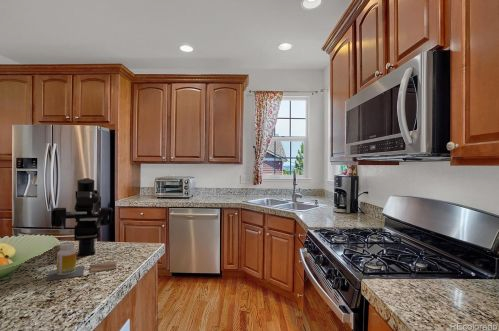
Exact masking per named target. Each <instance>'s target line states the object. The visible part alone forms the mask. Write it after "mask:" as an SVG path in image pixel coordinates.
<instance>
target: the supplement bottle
mask: <svg viewBox="0 0 499 331" xmlns="http://www.w3.org/2000/svg"><path fill="white" fill-rule="evenodd" d="M59 249H60V250H59V251H57V253H56V269H57V274H58V275H68V274H72V273H74V272H75V271H76V267H77V250H76V249H75V242H71V241H69V242H62V243H59Z"/></svg>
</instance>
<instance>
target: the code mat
mask: <svg viewBox="0 0 499 331" xmlns="http://www.w3.org/2000/svg"><path fill="white" fill-rule="evenodd" d="M84 270H85V265H80V266H76V271H75V272H74V273H72V274H68V275H58V274H57V268H56V269H51V270H50V271H49V272H48V275H47V277H46V278H45V282H51V281H56V280H62V279H69V278H70V279H71V278H77V277H78V278H79V277H83V276H84V272H85V271H84Z"/></svg>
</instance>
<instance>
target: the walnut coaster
mask: <svg viewBox="0 0 499 331" xmlns="http://www.w3.org/2000/svg"><path fill="white" fill-rule="evenodd" d="M111 269H112V270H117V263H116V261H109V262H108V261H107V262H99V263H91V264H90V269H89V270H90V271H89V272H90V273H97V272H104V271H109V270H111Z"/></svg>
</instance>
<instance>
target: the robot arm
mask: <svg viewBox="0 0 499 331" xmlns="http://www.w3.org/2000/svg"><path fill="white" fill-rule="evenodd" d="M76 186H77V188H76V189H77V190H75V206H74V211H67V208H66V207H53V208H52V209H51V212H50V216H51V217H50V225H51V227H56V228H61V229H63V230H66V229H67V228H66V223H67V222H66V221H67V219H75V223H76V225H74V228H73V234H74V235H73V237H74V242H75V241H78V251H76V257H82V256H90V255H91V256H92V255H96V249H95V246H96V245H95V243H96V242H95V239H97V240H98V239H100V238H101V227H104V226H110V225H112V222H113V221H112V220H113V212H114V211H113V210H114V209H113V208H112V207H106V206H105V207H102V196H100V192H99V191H98V190H96V189H95V180H94V179H91V178H88V177H84V178H81V179H77V181H76ZM98 212H99V213H98Z"/></svg>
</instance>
